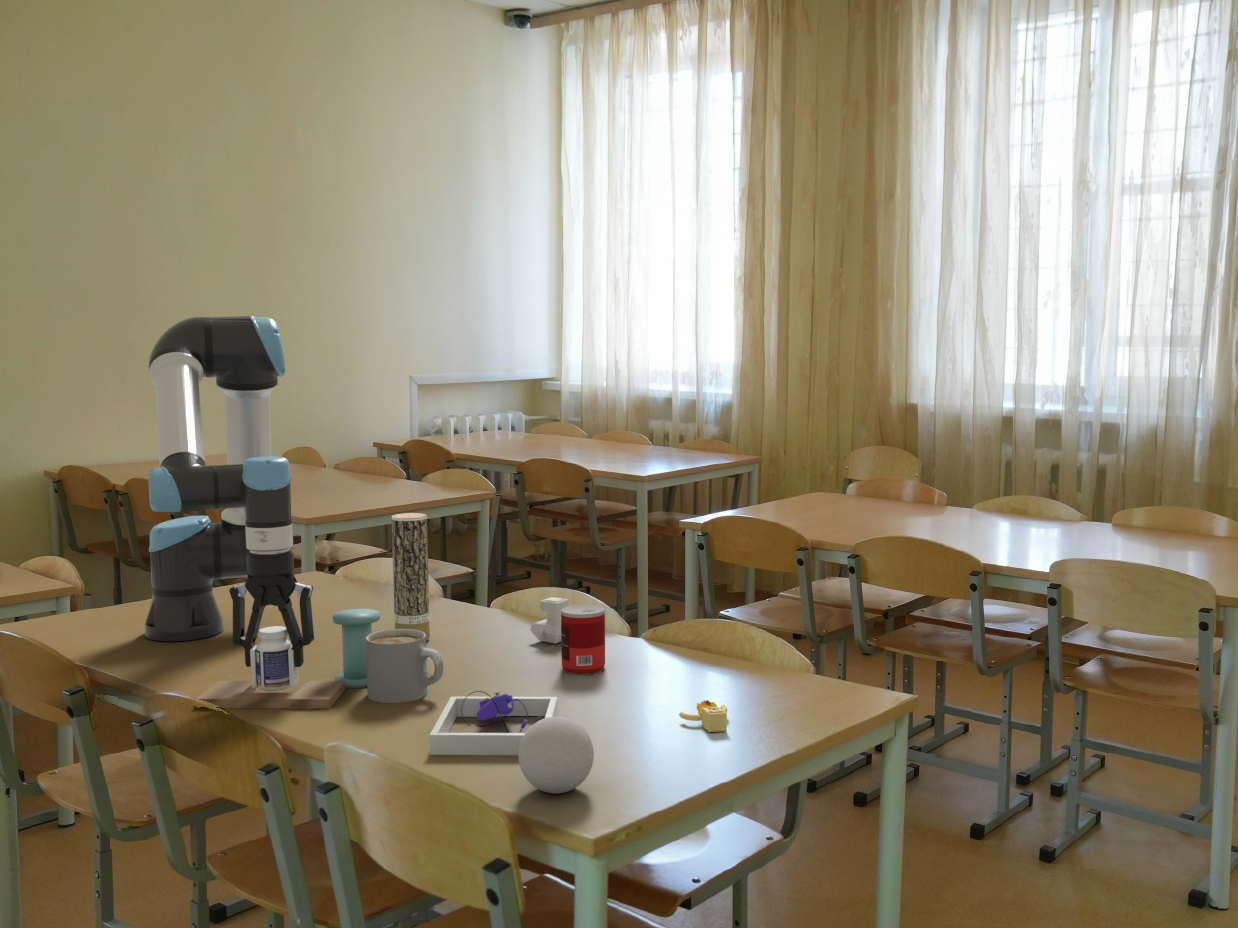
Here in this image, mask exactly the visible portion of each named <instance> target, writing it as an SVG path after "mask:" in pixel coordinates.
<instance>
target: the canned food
mask: <svg viewBox="0 0 1238 928" xmlns="http://www.w3.org/2000/svg"><path fill="white" fill-rule="evenodd" d="M605 612H606V611H605V608H604V607H602V606H600V605H595V604H575V605H568V606H566V607H565V608H563V609H562V610H561V613H560V618H561V642H560V644H561V645H560V646H561V650H560V651H561V667H562V670H563V671H564V672H566V673H567V674H572V675H591V674H596V673H600V672H602V671H604V669H605V665H606V613H605Z"/></svg>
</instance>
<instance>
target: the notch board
mask: <svg viewBox="0 0 1238 928" xmlns="http://www.w3.org/2000/svg"><path fill="white" fill-rule="evenodd" d="M256 688H257V687H252V681H251V680H217V681H216V682H215V683H214V684H212V685H211V686H210V687H209V688H208V689H206V690H205V691H203V692H202V693H201V694H199V696H197V697H196V698H195V700H196V699H199V700H203V701H207V702H209V703H212V704H214V705H217V706H219V707H221V708H220V709H330V708H331V707H333V705H334V704H335V702H336V701H337V700H338V699H339V698H340V697H341V696H342V694H343V693H344V692H345V691H346V688H345V681H335V680H307V681H306V682H305V683H304V684H303V685H302V686H301V687H300V688H299V689H298V690H297V691H296V692H255V691H256Z"/></svg>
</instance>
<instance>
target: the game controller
mask: <svg viewBox="0 0 1238 928" xmlns="http://www.w3.org/2000/svg"><path fill="white" fill-rule="evenodd" d="M477 692H478V693H479V692H480V693H483V694H486V696H487V697H490V698H491V699H489V698H485V699H484V700H482V701H481V702H479V703H480V709H479V711H478V712H477V717H476V718H477V719H478V720H481V721H485V720H489V719H492V718H495V717H494V716H496V715H497V714H500V713H501V714H503V715H507V714H509V713H511V712H512V711H513V708H514V702H513V701H515V700H518V699H515V700H513V698H512V697H513V695H509V694H507V693H502V694H500V693H501V691H495V692H494V693H493V694H494V696H491V695H490V694H488V693H487V692H485V691H482V690H477V691H476V690H475V691H473V692H471V693H469V694H468V695H467V697H470V695H472V694H474V693H477ZM465 699H466V698H465ZM465 699H464V700H465ZM518 701H520V700H518ZM463 702H464V701H463ZM520 702H521V701H520ZM521 703H522V702H521ZM462 705H463V703H462ZM522 705H523V704H522ZM523 706H524V705H523ZM524 708H525V707H524ZM525 710H526V708H525ZM461 713H462V707H461ZM526 713H527V711H526ZM501 714H500V716H501ZM461 718H462V720H463V721H464V722H465V724H466V725H467V726H469V727H471V726H472V725H470V724H469V723H467V722H466V720H465V717H463V715H462V717H461ZM500 718H501V720H499V721H496V722H493V723H492V722H491V723H488V724H483V725H479V727H478V728H482V727H486V726H491V725H494V724H497V723H501V722H502V723H503V725H504V727H505V730H506V732H507V733H510V732H509V730H508V728H507V725H506V724H505V722H506V721H507V722H508V721H510V719H505V720H504V719H503V717H502V716H501V717H500ZM527 718H529V717H528V714H527V717H526V718H525V719H523V722H522V723H521V726H520V728H521V729H520V731H519V732H518V733H522V730H523V729H525V728H526V726H527V724H528V723H527V722H528V719H527Z"/></svg>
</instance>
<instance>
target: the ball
mask: <svg viewBox="0 0 1238 928" xmlns="http://www.w3.org/2000/svg"><path fill="white" fill-rule="evenodd" d="M524 733H525V734H524V736H523V738H522V740H521V743H520V747H519V755H518V763H519V766H520V770H521V772H522V774H523V776H524V778H525V779H526V780H527V782H528V783H529V784H531V786H533V787H534V788H535V789H537V790H539V791H542V792H544V793H549V794H557V795H558V794H564V793H567V792H570V791H572V790H574V789H576V788H577V787H579V786H580V785H582V783H583V782H584V781H585V780H586V779H587V777H588V776H589V774H590V773H591V771H592V768H593V764H594V756H595V751H594V745H593V742H592V738H591V736H590V735H589V733H588V731H587V730H586V729H585V728H584V727H583V726H582V725H581V724H580V723H579V722H577V721H575V720H573V719H571V718H569V717H566V716H560V715H559V716H553V717H547V718H545V717H543V718H542V719H540V720H538V721H536V722H535V723H533V724H532V725H531V726H530V727H529V728H528V729H527V730H526V732H524Z"/></svg>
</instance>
